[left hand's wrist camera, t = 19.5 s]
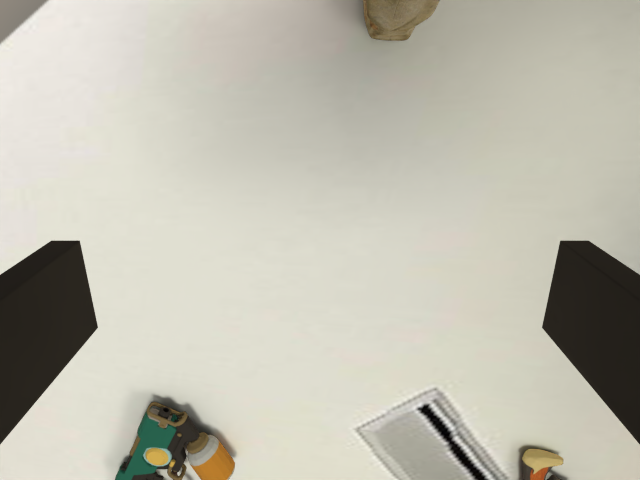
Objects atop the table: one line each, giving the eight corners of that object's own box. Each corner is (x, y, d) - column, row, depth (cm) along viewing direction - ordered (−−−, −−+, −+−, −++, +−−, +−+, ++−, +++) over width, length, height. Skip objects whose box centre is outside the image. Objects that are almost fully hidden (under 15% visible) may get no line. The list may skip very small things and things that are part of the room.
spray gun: (183, 512, 63) (93, 453, 60) (259, 452, 58) (165, 384, 55) (172, 542, 59) (75, 481, 56) (252, 481, 54) (150, 410, 51)
